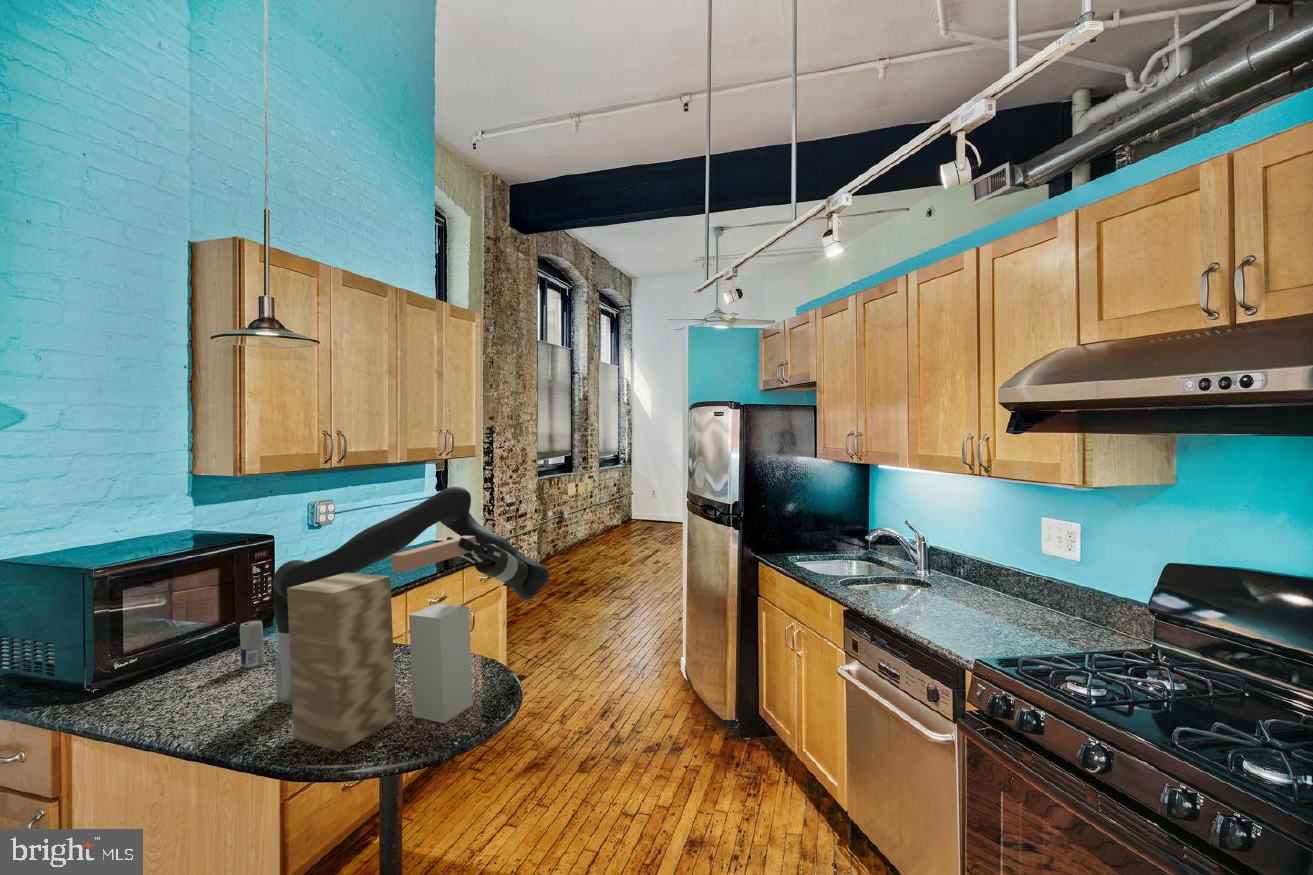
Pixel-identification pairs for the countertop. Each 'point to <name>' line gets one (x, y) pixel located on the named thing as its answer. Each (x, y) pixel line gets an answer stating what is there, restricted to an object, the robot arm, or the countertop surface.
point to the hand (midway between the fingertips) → (454, 541)
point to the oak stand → (341, 659)
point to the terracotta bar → (428, 554)
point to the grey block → (440, 662)
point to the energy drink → (251, 644)
